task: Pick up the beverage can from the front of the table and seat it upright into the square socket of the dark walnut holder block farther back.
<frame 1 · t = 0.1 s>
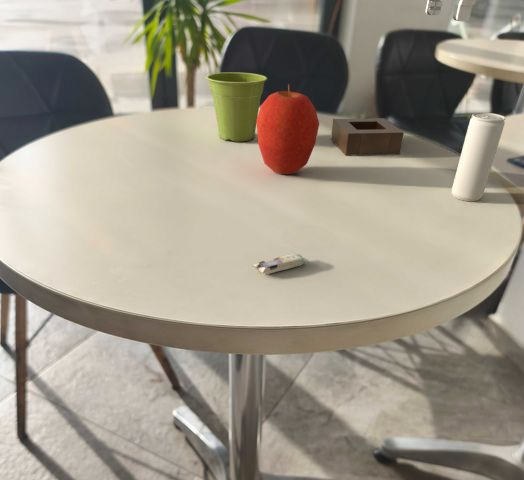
hand: (445, 17, 73), 23 cm above the table, tool pointing down, fingers open, 8 cm apart
apple: (284, 173, 87), on the table
plant pot: (237, 138, 103), on the table
granola bar: (280, 268, 59), on the table
beverage can: (465, 197, 80), on the table
holder: (364, 146, 100), on the table
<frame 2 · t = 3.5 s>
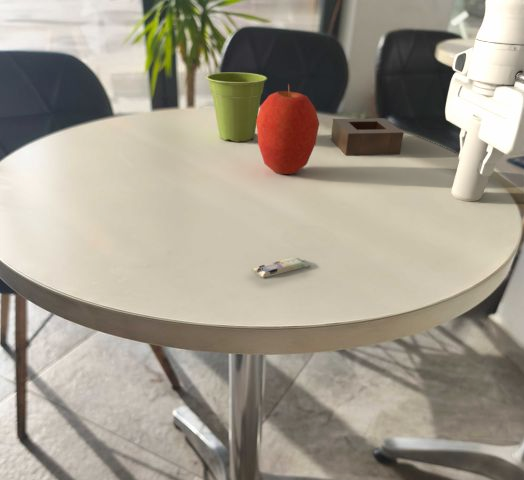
hand: (474, 167, 77), 5 cm above the table, tool pointing down, fingers closed on beverage can, 5 cm apart
beverage can: (465, 197, 80), on the table, touching gripper
everything else where it was.
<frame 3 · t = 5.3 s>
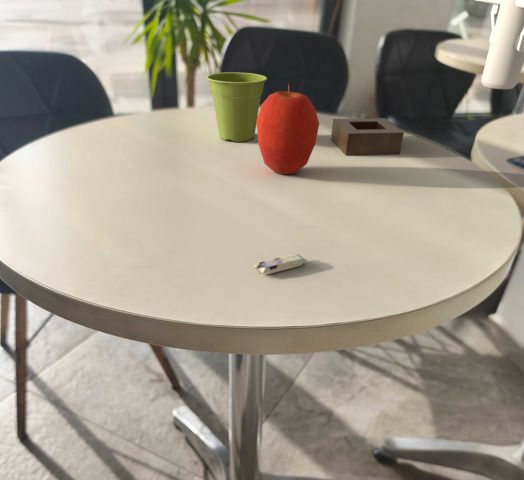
hand: (508, 48, 67), 21 cm above the table, tool pointing down, fingers closed on beverage can, 5 cm apart
beverage can: (497, 87, 70), point 16 cm above the table, touching gripper
everything else where it was.
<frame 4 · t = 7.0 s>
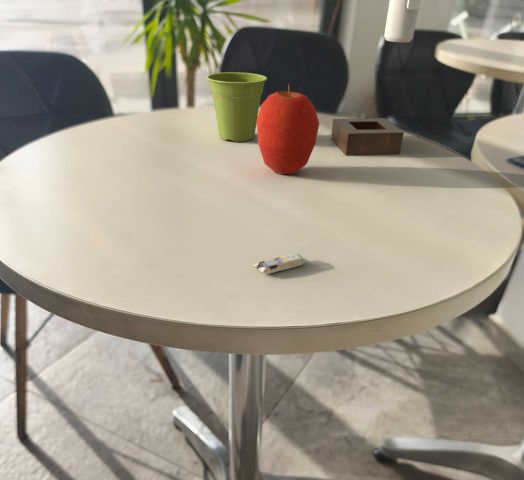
hand: (403, 8, 81), 23 cm above the table, tool pointing down, fingers closed on beverage can, 5 cm apart
beverage can: (397, 42, 84), point 19 cm above the table, touching gripper
everything else where it was.
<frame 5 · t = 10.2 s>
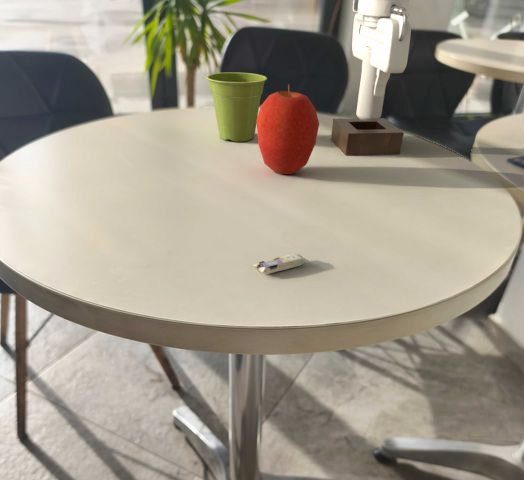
hand: (372, 92, 94), 10 cm above the table, tool pointing down, fingers closed on beverage can, 5 cm apart
beverage can: (367, 119, 97), point 5 cm above the table, touching gripper
everything else where it was.
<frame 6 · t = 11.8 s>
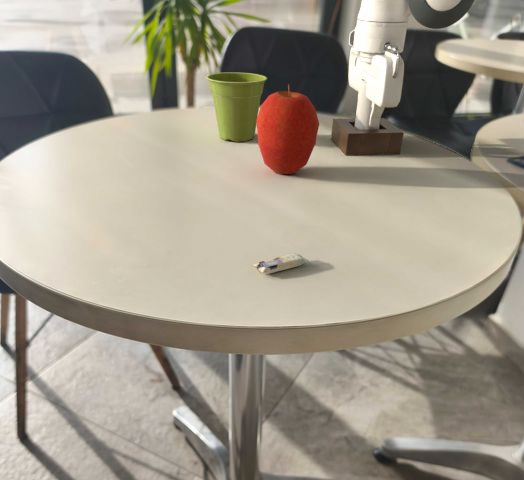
hand: (367, 122, 97), 5 cm above the table, tool pointing down, fingers closed on beverage can, 5 cm apart
beverage can: (363, 147, 100), resting in holder, touching gripper
everything else where it was.
when the fingers open (5 cm above the table, at t = 11.9 s): beverage can stays where it is, resting in holder.
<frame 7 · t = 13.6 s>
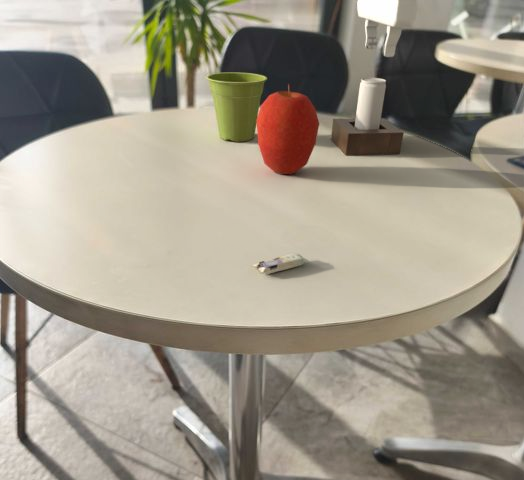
hand: (378, 52, 90), 16 cm above the table, tool pointing down, fingers open, 8 cm apart
beverage can: (363, 147, 100), resting in holder
everything else where it was.
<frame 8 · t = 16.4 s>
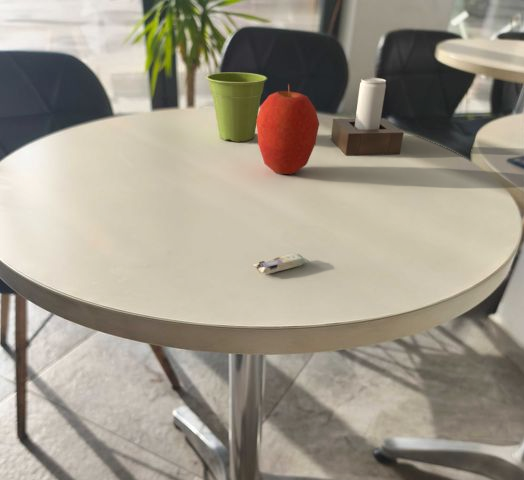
nothing on the table moved.
at the end: beverage can 0.1 cm off-centre in the holder, point 0.0 cm above the holder's base; beverage can tilted 0°; the gripper is holding nothing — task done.
